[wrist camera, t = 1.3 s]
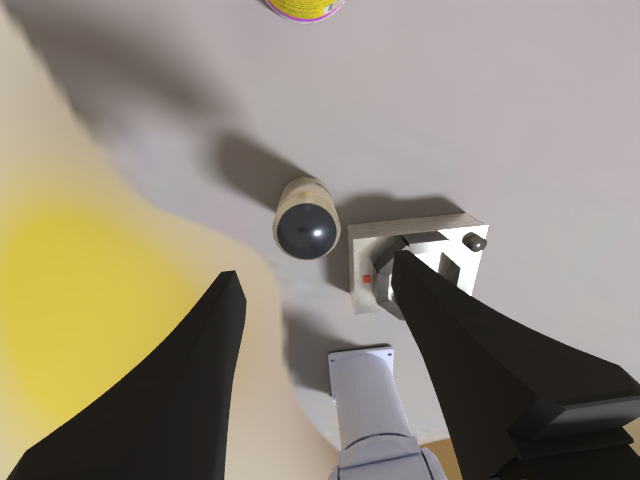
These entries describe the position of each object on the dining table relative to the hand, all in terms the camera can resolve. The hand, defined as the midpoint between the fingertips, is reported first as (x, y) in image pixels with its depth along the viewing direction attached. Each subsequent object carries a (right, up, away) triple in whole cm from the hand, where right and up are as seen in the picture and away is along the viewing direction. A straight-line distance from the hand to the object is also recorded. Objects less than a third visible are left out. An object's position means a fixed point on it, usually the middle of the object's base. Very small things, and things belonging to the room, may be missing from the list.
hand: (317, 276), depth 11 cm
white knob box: (+8, 0, +13) cm, 16 cm away
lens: (-1, +5, +10) cm, 11 cm away
